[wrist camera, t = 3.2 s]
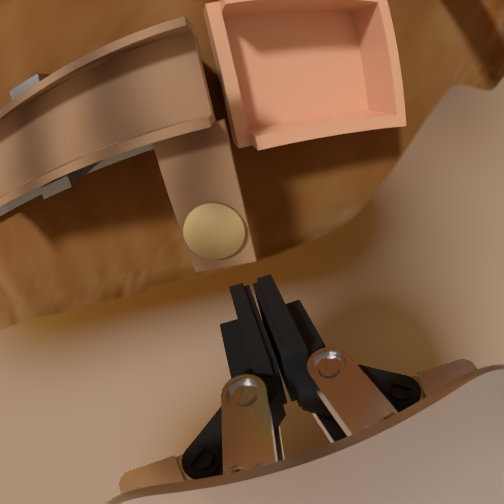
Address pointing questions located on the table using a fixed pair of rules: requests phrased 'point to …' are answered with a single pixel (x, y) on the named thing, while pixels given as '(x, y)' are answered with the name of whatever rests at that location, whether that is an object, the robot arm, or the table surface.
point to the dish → (305, 68)
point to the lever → (135, 134)
